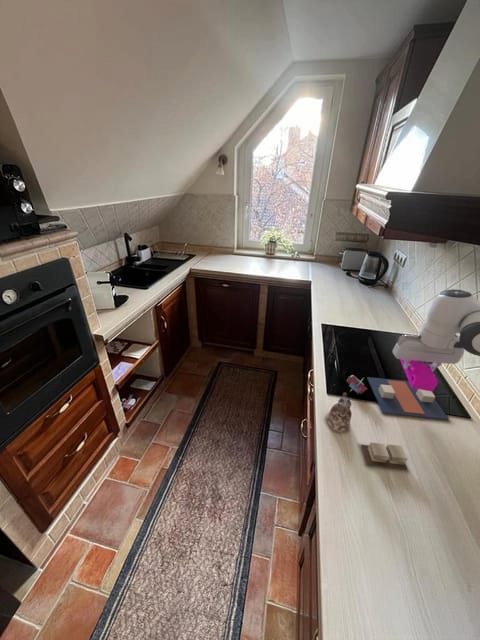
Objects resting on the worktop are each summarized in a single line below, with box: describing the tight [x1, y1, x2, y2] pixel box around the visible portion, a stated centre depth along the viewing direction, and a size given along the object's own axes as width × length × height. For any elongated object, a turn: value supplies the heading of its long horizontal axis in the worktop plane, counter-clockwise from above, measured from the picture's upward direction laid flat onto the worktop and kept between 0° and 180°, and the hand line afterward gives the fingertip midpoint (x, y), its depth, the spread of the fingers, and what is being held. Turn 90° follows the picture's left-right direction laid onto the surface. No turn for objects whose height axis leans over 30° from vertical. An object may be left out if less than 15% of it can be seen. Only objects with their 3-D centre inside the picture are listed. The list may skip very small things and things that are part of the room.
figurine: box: [326, 392, 352, 433], centre depth 83 cm, size 7×7×12 cm
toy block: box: [399, 359, 439, 393], centre depth 89 cm, size 15×6×8 cm, turn 164°
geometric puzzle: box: [346, 374, 369, 395], centre depth 98 cm, size 7×7×8 cm
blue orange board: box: [366, 376, 450, 421], centre depth 96 cm, size 22×18×4 cm
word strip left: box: [360, 441, 408, 471], centre depth 75 cm, size 11×6×4 cm, turn 84°
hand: (418, 369), depth 90 cm, fingers closed on toy block, 6 cm apart
